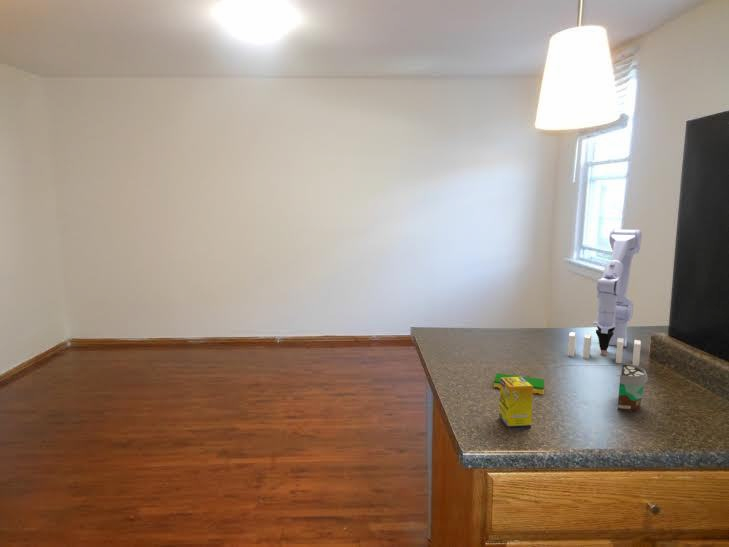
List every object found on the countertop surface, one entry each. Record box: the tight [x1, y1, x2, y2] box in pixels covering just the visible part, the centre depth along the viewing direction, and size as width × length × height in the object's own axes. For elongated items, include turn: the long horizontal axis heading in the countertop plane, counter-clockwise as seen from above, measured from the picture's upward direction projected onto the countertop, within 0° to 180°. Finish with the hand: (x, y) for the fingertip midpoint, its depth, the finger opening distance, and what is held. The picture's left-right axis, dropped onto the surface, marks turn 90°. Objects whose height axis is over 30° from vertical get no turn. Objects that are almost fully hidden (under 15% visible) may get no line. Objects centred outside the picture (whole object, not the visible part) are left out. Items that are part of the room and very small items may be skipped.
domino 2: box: [582, 333, 592, 360], centre depth 159 cm, size 2×5×8 cm, turn 149°
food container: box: [617, 361, 648, 412], centre depth 120 cm, size 12×6×10 cm, turn 148°
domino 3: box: [600, 350, 608, 356], centre depth 163 cm, size 2×5×8 cm, turn 149°
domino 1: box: [567, 331, 577, 357], centre depth 162 cm, size 2×5×8 cm, turn 149°
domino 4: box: [615, 338, 624, 364], centre depth 154 cm, size 2×5×8 cm, turn 149°
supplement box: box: [498, 376, 534, 430], centre depth 111 cm, size 6×6×11 cm
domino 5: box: [632, 339, 642, 367], centre depth 152 cm, size 2×5×8 cm, turn 149°
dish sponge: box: [493, 372, 545, 395], centre depth 134 cm, size 7×14×2 cm, turn 67°
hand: (603, 347), depth 163 cm, fingers closed on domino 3, 5 cm apart
